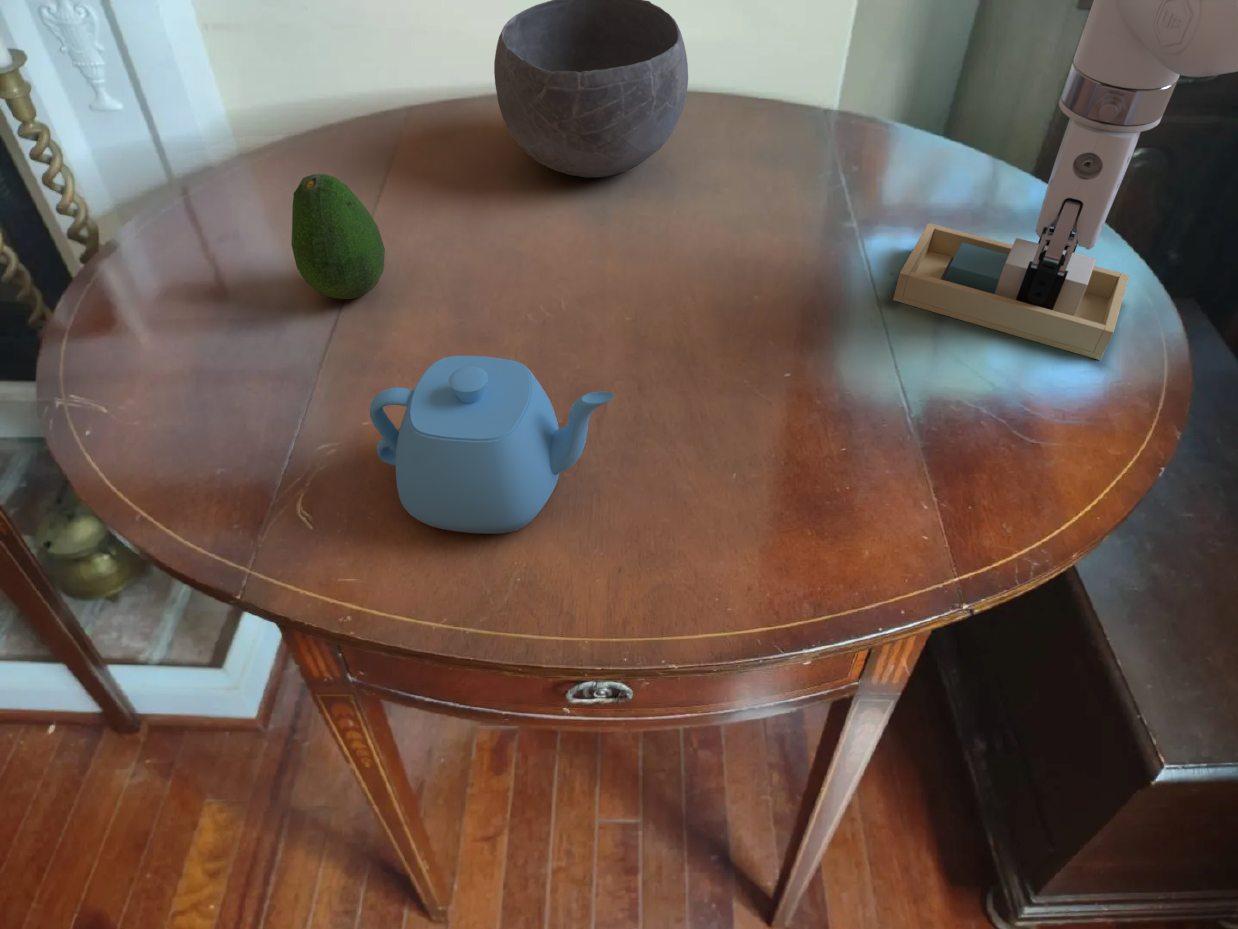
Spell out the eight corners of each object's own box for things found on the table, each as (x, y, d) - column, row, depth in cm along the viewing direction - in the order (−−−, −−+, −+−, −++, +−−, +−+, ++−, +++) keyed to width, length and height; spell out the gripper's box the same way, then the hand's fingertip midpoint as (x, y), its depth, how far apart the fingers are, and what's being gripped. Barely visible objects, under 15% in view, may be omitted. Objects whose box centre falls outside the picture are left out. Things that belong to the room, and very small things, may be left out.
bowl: (505, 120, 114) (493, -11, 103) (674, 116, 114) (680, -15, 104) (500, 211, 100) (485, 69, 89) (693, 205, 100) (702, 64, 89)
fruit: (316, 270, 92) (284, 155, 84) (397, 268, 92) (374, 154, 84) (299, 319, 87) (263, 202, 78) (385, 318, 87) (359, 201, 78)
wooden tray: (1116, 302, 88) (1129, 274, 86) (1100, 360, 83) (1113, 332, 80) (921, 249, 94) (928, 222, 92) (892, 300, 89) (899, 272, 86)
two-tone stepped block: (1077, 302, 87) (1096, 257, 84) (1068, 329, 85) (1087, 284, 81) (948, 266, 91) (961, 223, 88) (936, 291, 89) (948, 247, 85)
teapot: (602, 453, 60) (326, 431, 61) (604, 559, 67) (359, 536, 69) (624, 330, 68) (382, 313, 70) (624, 436, 76) (406, 419, 77)
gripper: (1153, 151, 66) (1066, 352, 79) (1180, 60, 77) (1099, 251, 90) (1043, 127, 69) (976, 326, 82) (1084, 42, 79) (1018, 231, 92)
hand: (1041, 285), depth 86 cm, fingers open, 5 cm apart
